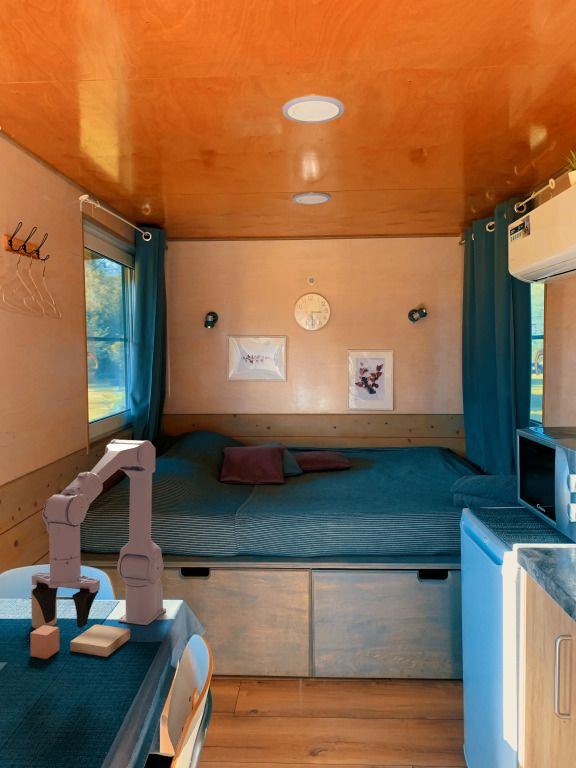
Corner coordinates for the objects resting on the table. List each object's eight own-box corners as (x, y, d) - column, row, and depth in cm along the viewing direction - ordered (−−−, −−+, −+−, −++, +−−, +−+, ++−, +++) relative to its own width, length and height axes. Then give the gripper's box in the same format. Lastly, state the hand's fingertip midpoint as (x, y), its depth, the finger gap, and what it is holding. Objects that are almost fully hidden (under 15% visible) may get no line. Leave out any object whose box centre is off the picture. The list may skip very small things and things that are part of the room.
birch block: (95, 634, 138) (95, 624, 138) (130, 640, 135) (130, 629, 135) (70, 652, 129) (70, 641, 129) (106, 658, 127) (106, 647, 127)
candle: (47, 630, 140) (47, 587, 139) (26, 628, 141) (26, 585, 140) (61, 620, 145) (60, 579, 145) (40, 618, 146) (40, 577, 146)
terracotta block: (43, 647, 131) (43, 625, 131) (59, 650, 130) (59, 627, 130) (30, 656, 127) (30, 632, 127) (46, 659, 126) (46, 635, 126)
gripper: (20, 558, 117) (21, 627, 118) (83, 565, 113) (84, 636, 113) (45, 547, 124) (45, 612, 124) (105, 554, 120) (106, 621, 120)
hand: (65, 623), depth 119 cm, fingers open, 7 cm apart
